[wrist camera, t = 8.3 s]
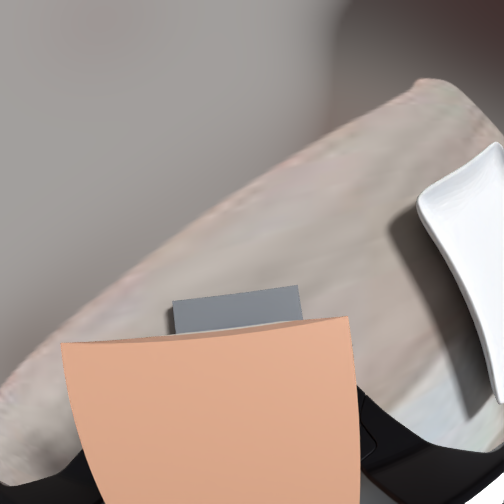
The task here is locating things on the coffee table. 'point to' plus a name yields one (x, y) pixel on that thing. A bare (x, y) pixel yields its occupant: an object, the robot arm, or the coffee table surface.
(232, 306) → the baseplate
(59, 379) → the coffee table surface
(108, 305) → the coffee table surface
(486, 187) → the salad plate
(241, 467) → the brick stack
